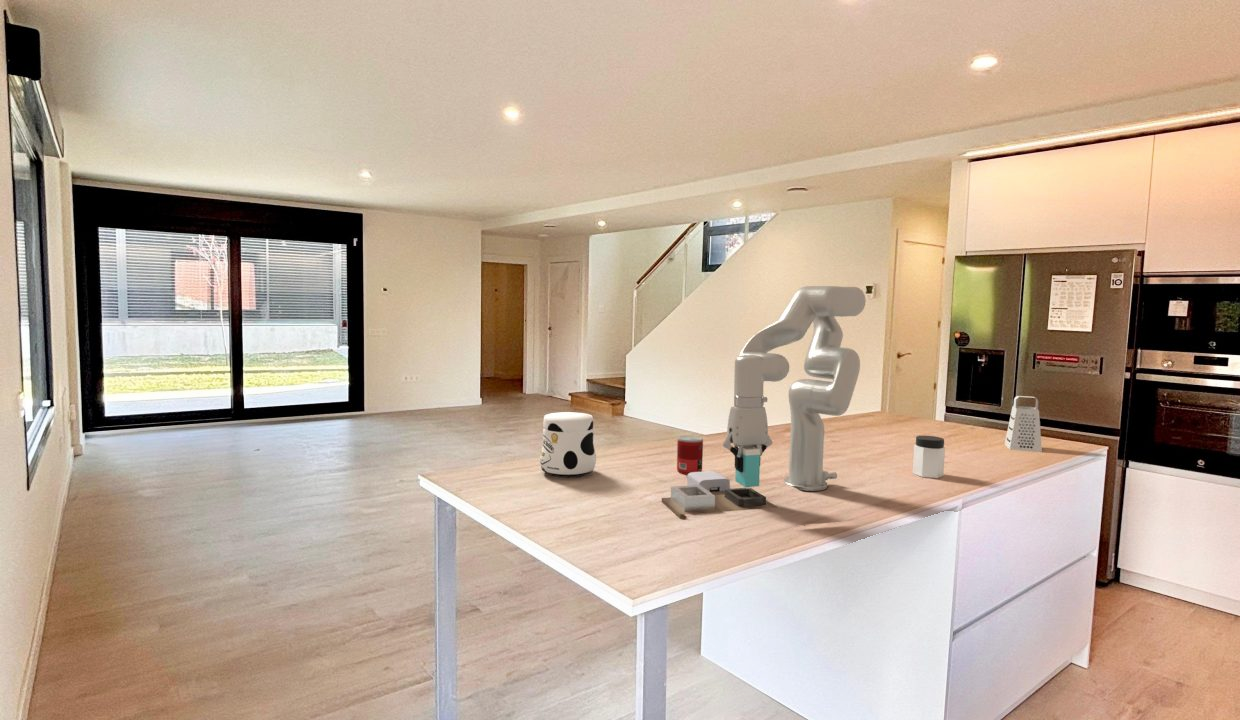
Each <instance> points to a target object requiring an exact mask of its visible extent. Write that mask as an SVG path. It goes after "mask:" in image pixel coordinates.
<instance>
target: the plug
mask: <svg viewBox="0 0 1240 720" xmlns="http://www.w3.org/2000/svg"><path fill="white" fill-rule="evenodd" d="M742 457H743V472H739V471H737V470H736V469H735V478H734V479H735V482H736V483H738V484H740V485H741V486H742V487H743V488H754V487H760V468H761V456H760V449H759V448H757V447H755V446H753V445H750V446H743V450H742Z"/></svg>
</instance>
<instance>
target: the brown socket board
mask: <svg viewBox="0 0 1240 720" xmlns="http://www.w3.org/2000/svg"><path fill="white" fill-rule="evenodd" d="M714 495H715V509H713V510H699V511H685V512H684V511H683V510H682V509H681V508H680V507H679V506H677V505H676V504H675V503H674V502H673V501H672V500H671V496H669V497H661V503H662V504H663V505H665V507H667V508H668V510H670V511H671V512H673V514H675V516H677V517H678V518H679V519H687V518H688V517H687V515H691V514H694V515H695V514H704V513H705V514H708V513H721V512H735V511H736V512H737V511H747V510H750V511H751V510H762V509H763V510H764V509H773V508H774V509H775V508H778V506H777V505H775V504H774V503H772V502H770V501H769V500H768V499H767V496H765V495H763V494H762V493H760V492H758V491H757V490H755V489H753V487H737V488H730V489H728V490H725V491H724V493H720V494H714Z"/></svg>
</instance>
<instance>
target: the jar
mask: <svg viewBox="0 0 1240 720" xmlns="http://www.w3.org/2000/svg"><path fill="white" fill-rule="evenodd" d="M945 454H946V447H945V439H944V438H943V437H939V436H935V435H917V436H915V444H914V446H913V462H912V464H913V465H912V474H913V475H916V476H918V477H921V478H929V479H939V478H942V477H943V476H944V472H945V471H944V469H945V457H946V456H945Z"/></svg>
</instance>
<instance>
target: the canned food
mask: <svg viewBox="0 0 1240 720" xmlns="http://www.w3.org/2000/svg"><path fill="white" fill-rule="evenodd" d="M676 443H677V444H676V445H677V449H676V450H677V452H676V455H677V456H676V469H677V471H676V472H677V473H679V474H682V475H688V474H689V473H691V472H703V455H704V454H703V452H704V438H703V437H701V436H697V435H680V436H677V442H676Z"/></svg>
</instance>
